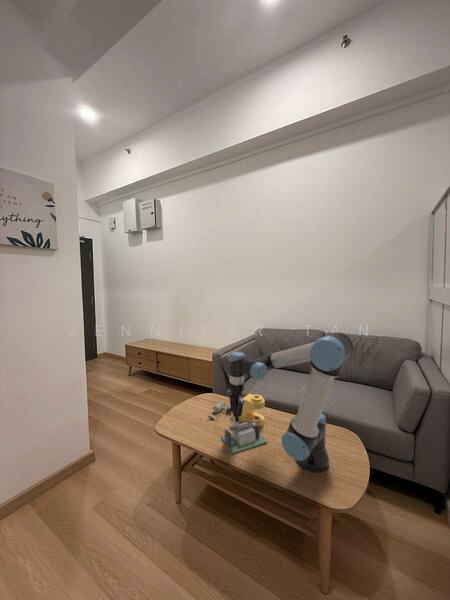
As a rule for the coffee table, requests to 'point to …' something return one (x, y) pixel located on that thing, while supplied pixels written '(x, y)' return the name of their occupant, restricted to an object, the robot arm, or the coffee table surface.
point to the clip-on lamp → (218, 408)
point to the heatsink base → (239, 449)
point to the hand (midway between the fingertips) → (235, 426)
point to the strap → (243, 426)
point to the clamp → (252, 409)
